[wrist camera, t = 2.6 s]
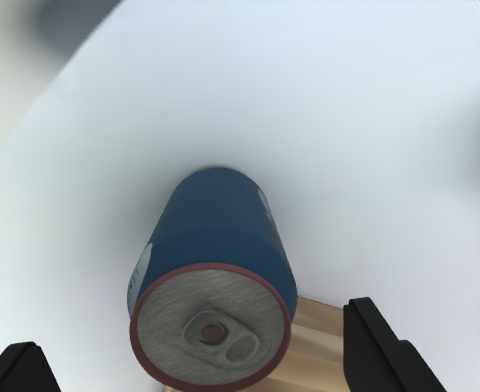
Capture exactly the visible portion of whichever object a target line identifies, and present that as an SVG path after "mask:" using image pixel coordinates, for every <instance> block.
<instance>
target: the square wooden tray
mask: <svg viewBox="0 0 480 392" xmlns="http://www.w3.org/2000/svg"><path fill="white" fill-rule="evenodd" d="M163 392H182V391H179V390H176V389H173V388H171V387H168V386H165V389H164V391H163ZM237 392H350V390H349V387H348V385H347V382H346V379H345V376H344V371H343V310H342V309H339V308H335V307H332V306H329V305H325V304H322V303H318V302H315V301H311V300H308V299H305V298H301V297H298V296H297V307H296V312H295V316H294V319H293V322H292V324H291V338H290V343H289V347H288V349H287V352H286V354H285V356H284V358H283V359H282V361H281V362H280V364H279V365H278V366H277V368H276V369H275V370H274V371H273V372H272V373H271V374H270V375H268V376H267V377H266V378H264V379H263V380H262V381H260V382H258V383H257V384H255V385H253V386H251V387H248V388H246V389H243V390H241V391H237Z"/></svg>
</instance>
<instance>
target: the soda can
mask: <svg viewBox="0 0 480 392" xmlns="http://www.w3.org/2000/svg"><path fill="white" fill-rule="evenodd" d="M127 305H128V312H129V316H130V320H131V321H130V332H129V333H130V341H131V345H132V349H133V351H134V354H135V356H136V358H137V360H138V361H139V363H140V364H141V366H142V367H143V368H144V370H145V371H146V372H147V373H148V374H149V375H150V376H152V377H153V378H154V379H156V380H157V381H159V382H161V383H162V384H164V385H166V386H168V387H171V388H173V389H176V390H179V391H182V392H237V391H241V390H243V389H246V388H248V387H251V386H253V385H255V384H257V383H258V382H260V381H262V380H263V379H264V378H266V377H267V376H268V375H270V374H271V373H272V372H273V371H274V370H275V369H276V368H277V366H278V365H279V364H280V362H281V361H282V359H283V358H284V356H285V354H286V352H287V349H288V347H289V343H290V338H291V324H292V322H293V319H294V316H295V312H296V307H297V288H296V283H295V280H294V277H293V274H292V271H291V268H290V265H289V262H288V260H287V257H286V254H285V251H284V248H283V245H282V243H281V240H280V237H279V234H278V231H277V228H276V226H275V223H274V220H273V217H272V214H271V211H270V208H269V206H268V203H267V200H266V198H265V196H264V194H263V192H262V191H261V189H260V188H259V187H258V185H257V184H256V183H255V182H253V181H252V180H251V179H250V178H248V177H247V176H245V175H243V174H241V173H239V172H236V171H233V170H229V169H223V168H214V169H207V170H203V171H200V172H197V173H195V174H193V175H191V176H189V177H188V178H186V179H185V180H184V181H183V182H182V183H181V184H180V185H179V186H178V187H177V188H176V189H175V191H174V192H173V194H172V196H171V198H170V200H169V202H168V204H167V206H166V208H165V210H164V212H163V214H162V216H161V218H160V220H159V222H158V224H157V226H156V228H155V230H154V232H153V234H152V236H151V238H150V240H149V242H148V244H147V246H146V247H145V249H144V251H143V253H142V255H141V257H140V259H139V261H138V263H137V265H136V267H135V269H134V271H133V273H132V276H131V279H130V282H129V286H128V292H127Z"/></svg>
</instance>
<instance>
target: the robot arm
mask: <svg viewBox="0 0 480 392" xmlns="http://www.w3.org/2000/svg"><path fill="white" fill-rule="evenodd" d="M343 371H344V376H345V379H346V382H347V385H348V387H349V390H350V392H447V391H446V390H445V388H444V387H443V386H442V384H441V383H440V382H439V380H438V379H437V377H436V376H435V375H434V373H433V372H432V370H431V369H430V368H429V366H428V365H427V364H426V362H425V361H424V359H423V358H422V357H421V355H420V354H419V353H418V351H417V350H416V348H415V347H414V346H413V345H412V344H411V343H410V342H409V341H407V340H399V339H398V338H397V337H396V335H395V334H394V332H393V331H392V329H391V328H390V326H389V325H388V323H387V322H386V320H385V319H384V318H383V316H382V315H381V313H380V312H379V310H378V309H377V307H376V306H375V304H374V303H373V301H372V300H371V299H370V298H369V297H364V298H357V299H350V300H349V305H344V308H343ZM0 392H61V390H60V388H59V386H58V383H57V381H56V379H55V377H54V375H53V373H52V370H51V368H50V366H49V364H48V362H47V359H46V357H45V355H44V353H43V351H42V349H41V347H40V346H37V345H36V344H35V343H34V342H33V341H32V342H23V343H15V344H11V345H9V346H8V347H7V348H6V349H5V350H4V351H3V352H2V354H1V355H0Z"/></svg>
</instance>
